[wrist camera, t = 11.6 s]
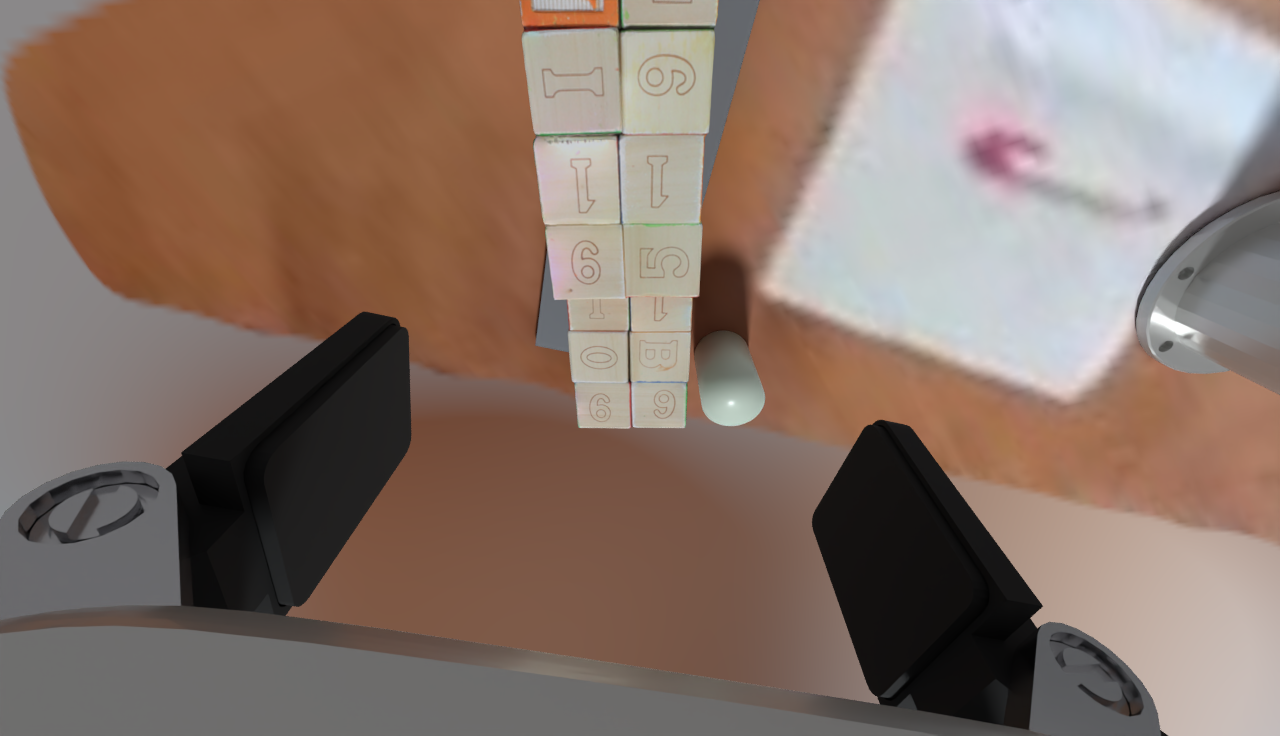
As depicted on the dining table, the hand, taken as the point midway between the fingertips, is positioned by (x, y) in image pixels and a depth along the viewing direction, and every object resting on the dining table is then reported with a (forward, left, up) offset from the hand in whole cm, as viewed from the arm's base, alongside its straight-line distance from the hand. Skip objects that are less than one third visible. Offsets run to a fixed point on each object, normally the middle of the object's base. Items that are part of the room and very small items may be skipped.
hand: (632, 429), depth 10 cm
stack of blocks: (+1, 0, -23) cm, 23 cm away
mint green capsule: (-8, +10, -23) cm, 27 cm away
